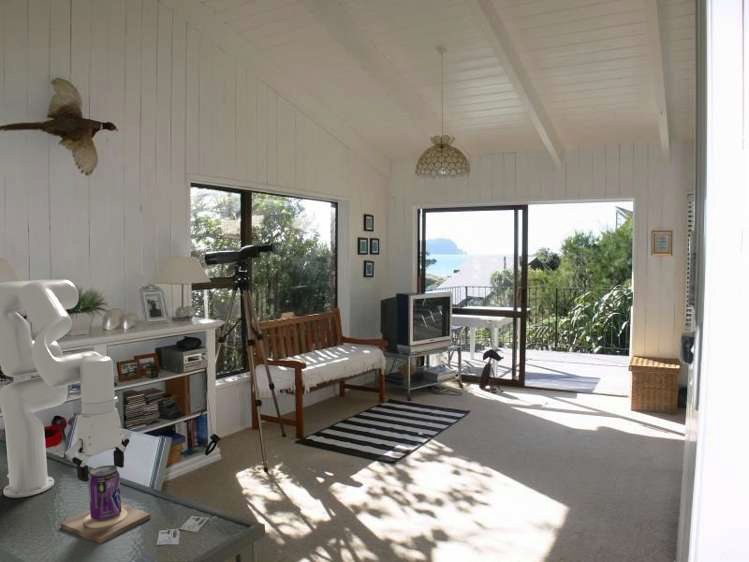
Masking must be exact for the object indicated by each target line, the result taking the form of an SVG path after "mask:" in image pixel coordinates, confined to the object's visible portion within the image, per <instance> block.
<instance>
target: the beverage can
mask: <svg viewBox="0 0 749 562" xmlns="http://www.w3.org/2000/svg"><path fill="white" fill-rule="evenodd" d="M88 478H89V480H88V481H87V482H88V498H89V510H90V514H91V518H92V519H94V520H99V521H105V520H109V519H112V518H114V517H115V516H117V515H118V514H120V513H121V511H122V508H121V504H122V495H121V481H120V479H121V478H120V473H119V470H118V467H117V466H114V464H113V465H112V464H108V465H107V464H106V465H101V466H97V467H94V468H93V469H91V470H90V472H89V476H88Z"/></svg>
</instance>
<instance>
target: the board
mask: <svg viewBox="0 0 749 562" xmlns="http://www.w3.org/2000/svg"><path fill="white" fill-rule="evenodd" d="M121 508H122V511H121V513H120V514H118V515H117V516H115V517H114V518H112V519H109V520H105V521H99V520H94V519H92V518H91V514H90V509H89V510H87V511H84V512H82V513H80V514H78V515H76V516H73V517H71V518H69V519H66V520H64V521H62V522H60V528H61V529H64V530H66V531H68V532H71V533H73V534H75V535H78V536H80V537H82V538H85V539H88V540H90V541H92V542H94V543H97V544H100V545H101V544H102V543H104V542H106V541H108V540H111V539H112V538H115V537H117V536H119V535H120V534H122V533H124V532H126V531H129V530H131V529H132V528H135V527H136V526H138V525H141V524H142V523H144V522H147V521H148V520H150V519H151V517H152V516H151V513H149V512H146V511H143V510H140V509H137V508H134V507H132V506H129V505H126V504H122V503H121Z"/></svg>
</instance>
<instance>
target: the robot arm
mask: <svg viewBox="0 0 749 562" xmlns="http://www.w3.org/2000/svg"><path fill="white" fill-rule="evenodd" d="M79 298H80V296H79V291H78V288H77V287H76V285H75V284H74V283H73V282H71V281H70V280H68V279H35V280H18V281H5V282H1V283H0V368H1V371H2V373H3V374H4V376H6V377H10V378H11V377H21V376H25V375H26V376H27V375H30V374H37V373H38V374H39V376H37V377H34V378H33V377H31V378H27V379H22V380H17V381H14V382H11V383H9V384H5V386H3V387H2V388H1V389H0V411H1V413H2V419H3V424H4V431H5V444H6V455H7V468H8V469H7V470H8V472H7V475H6V477H7V478H8V482H9V484H8V485H6V486H5V487H4V488H3V495H4V497H7V498H12V499H13V498H17V499H18V498H25V497H30V496H31V497H32V496H35V495H38V494H41V493H44V492H45V491H47V490H49V489H51V488H53V486H54V484H55V479H54V478H53V477H52V476H49V475H48V463H47V461H48V460H47V451H46V437H45V426H44V424H43V422H42V421H41V419H40V418H39V417H37V416H36V415H35V414H34V413H36V412H39V411H42V410H46V409H50V408H54V407H58V406H61V405H62V404H64V403H65V402H66V401H67V399H68V395H69V388H68V386H72V385H76V384H80V401H81V403H80V405H81V406H80V407H81V414H78V417H77V421H76V422H77V423H76V428H75V443H74V444H73V445H71V446H70V447H69V448H67V450H66V451H65V452H64V453H65V454H64V455H65V456H66V457H67V459H68V460H69V462H71V463H72V464H74V465H75V466H76V477H77V479H78V480H79V481H81V482H84V483H87V482H88V480H89V466H88V465H86V464H87V463H88V461H89V459H90V458H91V457H93V456H96V455H99V454H102V453H105V452H107V451H110V450H113V449H114V450H113V465H114V466H116V467H117V468H120V469H123V468H124V467H125V453H124V452H126V451H127V450H126V449H127V446H128V445H129V443H130V439H131V436H132V433H133V431H131V430H128V429H124V428H122V423H121V418H120V414H119V411H118V408H116V403H118V402H120V401H119V397H118V396H116V395H115V374H114V372H115V371H114V362H113V359H112V358H111V357H110V356H107V355H106V356H105V355H101V354H100V353H98V352H97V351H94V350H93V351H92V350H90V351H88V350H87V351H82V352H77V353H71V354H66V355H65V354H63V350H62V348H61V346H60V345H59V343H58V342H57V341H58V340H59V339H61V338H63V336H65V335H66V334H68V333H69V331H70V330H71V329H72V326H73V320H72V317H71V316H70V315H69V313H68V312H67V310H71V309H74V308H75V307H76V306H77V305H78V302H79ZM19 312H24V313H25V314H26V316H27V317H28V319H29V321H30V322H31V324H32V326H33V328H34V330H35V331H36V333H37V335H36V337H35V339H32V333H31V327H30V324H29V322H28V321H27V320H26V319H25V318H24V317H23V316H22V315H21V314H19ZM76 453H77V454H78V455H77V456H76Z"/></svg>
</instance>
